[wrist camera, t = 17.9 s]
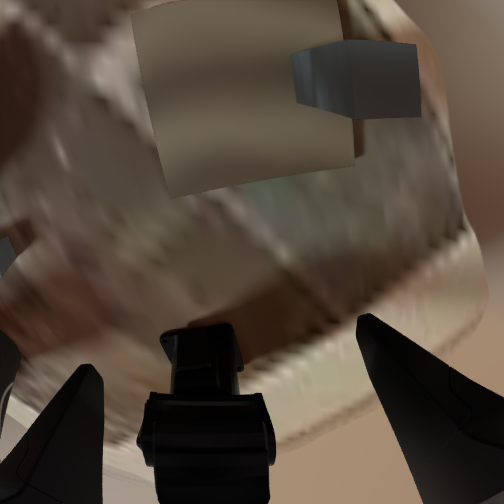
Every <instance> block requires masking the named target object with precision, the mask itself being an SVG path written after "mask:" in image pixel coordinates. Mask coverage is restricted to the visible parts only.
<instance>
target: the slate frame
mask: <svg viewBox="0 0 504 504" xmlns="http://www.w3.org/2000/svg"><path fill="white" fill-rule="evenodd" d="M16 258H17V255H16V253H15V250H14V248H13V246H12V244H11V242H10V240H9V238H8V236H6V237H3V238H1V239H0V278H1V277H2V276H3V275H4V273H5V272H6V271H7V269H8V268H9V267H10V266H11V264H12V263H13V262H14V261H15V259H16Z"/></svg>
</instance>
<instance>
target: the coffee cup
mask: <svg viewBox="0 0 504 504" xmlns="http://www.w3.org/2000/svg"><path fill="white" fill-rule="evenodd" d="M20 359H21V356H20V352H19V350H18V348H17V347H16V345H15V344H14V343H13V341H12V340H11V339H10V338H9V337H8V336H7V335H6V334H4V333H3V332H2V331H0V438H1V432H2V427H3V422H4V417H5V413H6V409H7V405H8V401H9V397H10V393H11V390H12V386H13V383H14V379H15V376H16V372H17V369H18V366H19V363H20ZM0 463H1V460H0Z"/></svg>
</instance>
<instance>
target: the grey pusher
mask: <svg viewBox="0 0 504 504" xmlns="http://www.w3.org/2000/svg"><path fill="white" fill-rule="evenodd" d="M130 16H131V22H132V28H133V34H134V40H135V45H136V51H137V56H138V62H139V67H140V72H141V77H142V82H143V87H144V91H145V96H146V101H147V105H148V110H149V114H150V119H151V123H152V128H153V132H154V136H155V140H156V144H157V149H158V153H159V157H160V161H161V165H162V168H163V172H164V176H165V180H166V184H167V188H168V191H169V195H170V199H173V198H177V197H181V196H186V195H190V194H195V193H200V192H204V191H209V190H214V189H219V188H224V187H229V186H234V185H239V184H244V183H250V182H255V181H261V180H266V179H272V178H278V177H284V176H290V175H296V174H302V173H308V172H315V171H322V170H329V169H336V168H343V167H350V166H355V158H354V138H353V123H352V119H355V120H360V119H377V118H404V117H421V97H420V80H419V68H418V58H417V49H416V45H415V44H407V43H397V42H386V41H373V40H349V39H347V40H343V33H342V27H341V21H340V15H339V10H338V4H337V0H182V1H178V2H173V3H169V4H165V5H161V6H157V7H153V8H150V9H146V10H142V11H139V12H136V13H132V14H130Z"/></svg>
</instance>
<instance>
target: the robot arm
mask: <svg viewBox="0 0 504 504" xmlns="http://www.w3.org/2000/svg"><path fill="white" fill-rule="evenodd" d="M226 329H227V330H226ZM164 339H167V340H164ZM356 339H357V342H358V345H359V348H360V351H361V354H362V357H363V360H364V363H365V366H366V369H367V372H368V375H369V378H370V380H371V382H372V385H373V387H374V389H375V391H376V393H377V395H378V397H379V400H380V402H381V404H382V406H383V408H384V411H385V413H386V415H387V417H388V420H389V422H390V424H391V426H392V429H393V431H394V433H395V436H396V438H397V440H398V442H399V445H400V447H401V449H402V452H403V454H404V457H405V459H406V461H407V464H408V466H409V469H410V471H411V473H412V476H413V477H414V481H415V484H416V486H417V489H418V491H419V494H420V496H421V499H422V502H423V504H504V397H502V396H500V395H499V394H496V393H494V392H493V391H491V390H489V389H487V388H485V387H483V386H481V385H480V384H478V383H476V382H474V381H472V380H470V379H469V378H467V377H466V376H464V375H463V374H461V373H459V372H458V371H457V370H455V369H454V368H452V367H449V365H448V364H446V363H445V362H443V361H442V360H440V359H439V358H437V357H436V356H434V355H433V354H431V353H430V352H428V351H427V350H425V349H424V348H422V347H421V346H419V345H418V344H416V343H415V342H413V341H412V340H410V339H409V338H407V337H406V336H404V335H403V334H401V333H400V332H398V331H397V330H395V329H394V328H392V327H391V326H389V325H388V324H386V323H385V322H383V321H382V320H380V319H379V318H377V317H376V316H374V315H372V314H371V313H367V314H363V315H360V316H358V318H357V326H356ZM160 343H161V345H162V347H163V349H164V351H165V353H166V355H167V356H168V358H169V360H170V362H171V364H172V369H171V388H170V394H164V393H157V392H150V396H149V400H148V399H147V403H145V408H144V418H143V422H142V425H141V428H140V431H139V433H138V436H137V440H136V443H137V446H138V447H139V448H140V449H141V450H142V452H143V456H144V458H145V463H146V465H147V466H149V467H154V477H155V488H156V493H157V496H158V501H159V503H160V504H268V502H269V500H270V490H269V466H272V465H274V462H275V459H276V439H275V433H274V428H273V425H272V422H271V419H270V416H269V413H268V411H267V408H266V405H265V402H264V399H263V396H262V393H254V394H245V395H240V391H239V383H238V375H237V372H241V371H243V370H244V365H243V362H242V358H241V355H240V351H239V348H238V344H237V341H236V337H235V334H234V330H233V327H232V325H231V324H228V323H225V324H220V325H214V326H208V327H203V328H197V329H191V330H185V331H179V332H173V333H167V334H162V335H161V336H160ZM103 437H104V382H103V379H102V377H101V376H100V374H99V373H98V372H97V370H96V369H95V368H94V366H93V365H92V364H81V365H80V366H79V367H78V368H77V369H76V370H75V372H74V373H73V374H72V375H71V376H70V378H69V379H68V380H67V381H66V383H65V384H64V385H63V386H62V387H61V389H60V390H59V391H58V392H57V394H56V395H55V396H54V397H53V399H52V400H51V401H50V402H49V404H48V405H47V406H46V407H45V409H44V410H43V411H42V412H41V414H40V415H39V416H38V418H37V419H36V420H35V421H34V423H33V424H32V425H31V427H30V428H29V429H28V431H27V432H26V433H25V434H24V436H23V437H22V438H21V440H20V441H19V442H18V443H17V445H16V446H15V447H14V448H13V450H12V451H11V452H10V453H9V454H8V455H7V457H6V458H5V459H4V460H3V461H2V462H1V463H0V504H103V497H102V465H103Z"/></svg>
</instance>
